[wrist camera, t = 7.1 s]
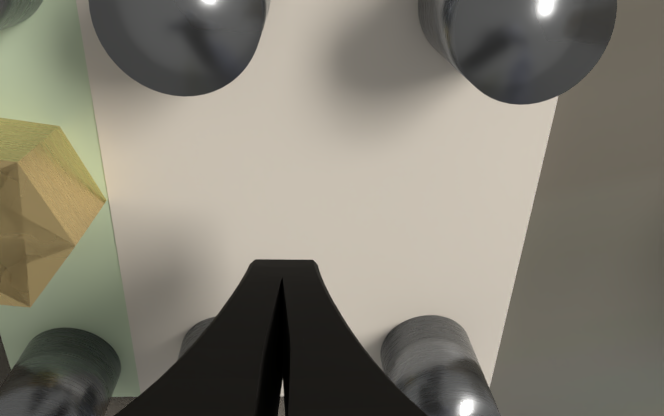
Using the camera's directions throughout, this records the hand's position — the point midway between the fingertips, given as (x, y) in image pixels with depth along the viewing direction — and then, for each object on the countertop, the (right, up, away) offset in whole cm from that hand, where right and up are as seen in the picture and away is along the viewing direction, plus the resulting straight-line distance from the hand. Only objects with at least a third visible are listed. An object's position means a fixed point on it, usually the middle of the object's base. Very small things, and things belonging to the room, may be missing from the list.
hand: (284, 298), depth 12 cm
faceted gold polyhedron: (-7, +2, +3) cm, 8 cm away
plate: (-1, +2, +4) cm, 5 cm away
